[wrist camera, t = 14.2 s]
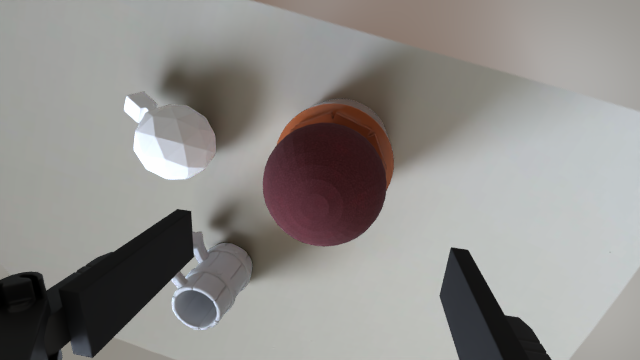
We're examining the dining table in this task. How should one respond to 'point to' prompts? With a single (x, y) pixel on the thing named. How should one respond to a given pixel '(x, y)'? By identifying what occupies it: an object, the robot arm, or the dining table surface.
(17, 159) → the dining table surface
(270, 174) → the decorative ball
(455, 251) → the robot arm
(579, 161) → the dining table surface
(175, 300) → the mug
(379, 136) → the pedestal
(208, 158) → the perfume bottle
